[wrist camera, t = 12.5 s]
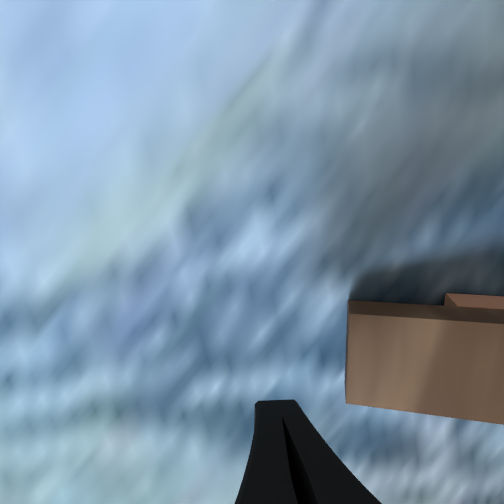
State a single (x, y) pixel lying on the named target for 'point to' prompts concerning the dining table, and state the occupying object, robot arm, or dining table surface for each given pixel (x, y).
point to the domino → (426, 359)
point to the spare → (474, 301)
